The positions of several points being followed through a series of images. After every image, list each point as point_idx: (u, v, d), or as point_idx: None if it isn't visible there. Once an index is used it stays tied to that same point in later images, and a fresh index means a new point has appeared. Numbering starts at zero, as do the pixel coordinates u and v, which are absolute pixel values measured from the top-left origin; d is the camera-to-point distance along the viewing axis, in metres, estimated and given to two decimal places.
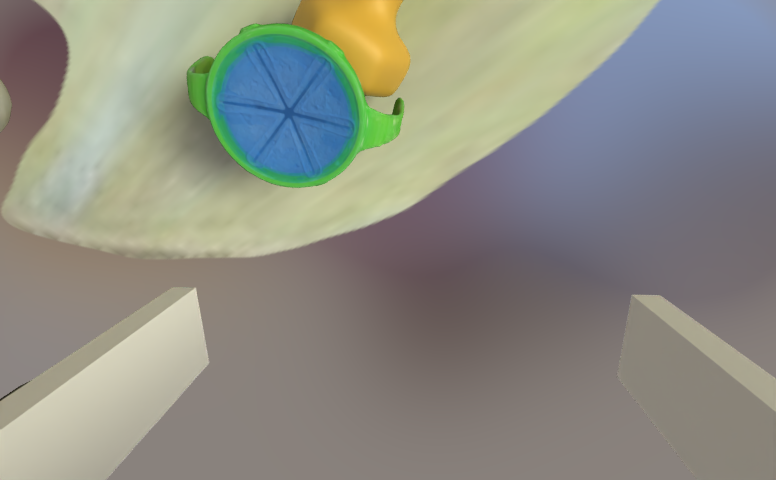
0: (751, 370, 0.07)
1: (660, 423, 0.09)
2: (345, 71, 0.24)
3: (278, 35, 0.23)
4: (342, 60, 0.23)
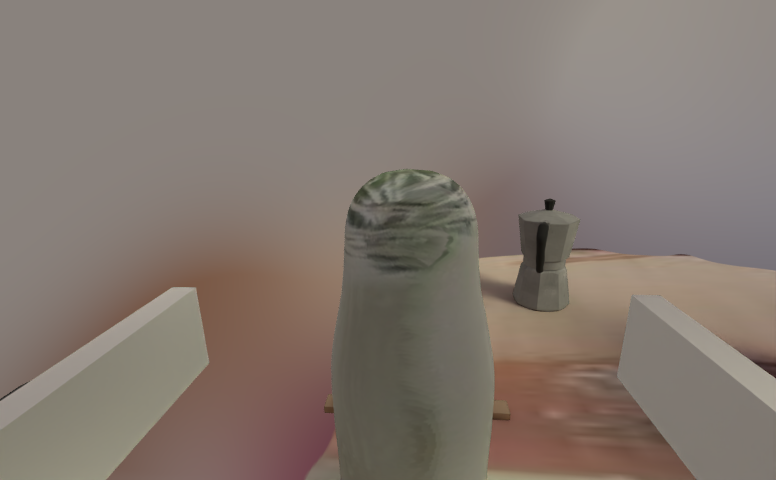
0: (751, 369, 0.07)
1: (660, 423, 0.09)
2: None
3: None
4: None
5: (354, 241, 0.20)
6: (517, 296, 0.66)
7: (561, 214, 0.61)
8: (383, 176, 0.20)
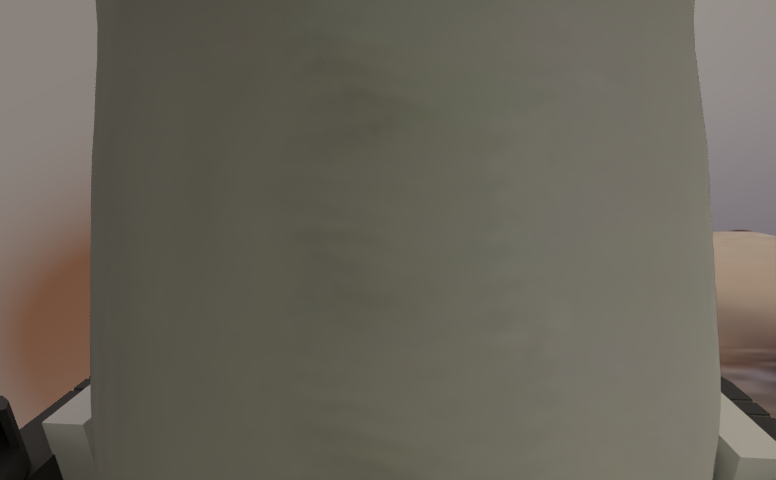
0: None
1: None
2: None
3: None
4: None
5: None
6: None
7: None
8: None
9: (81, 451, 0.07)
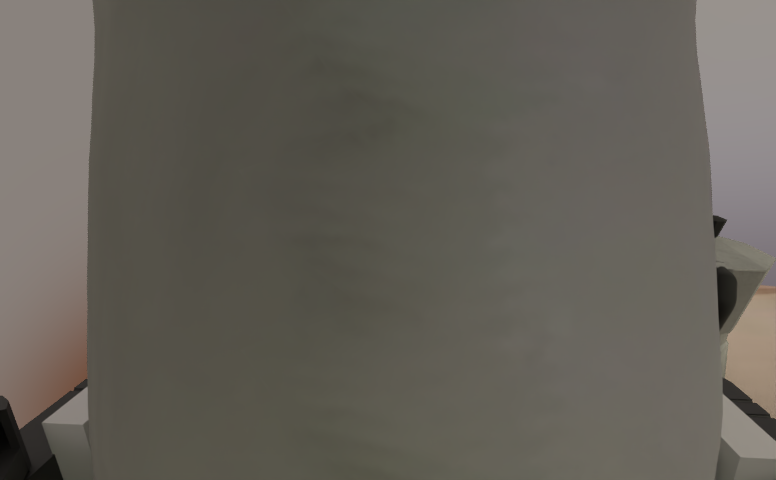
0: None
1: None
2: None
3: None
4: None
5: None
6: None
7: (737, 246, 0.33)
8: None
9: (81, 451, 0.07)
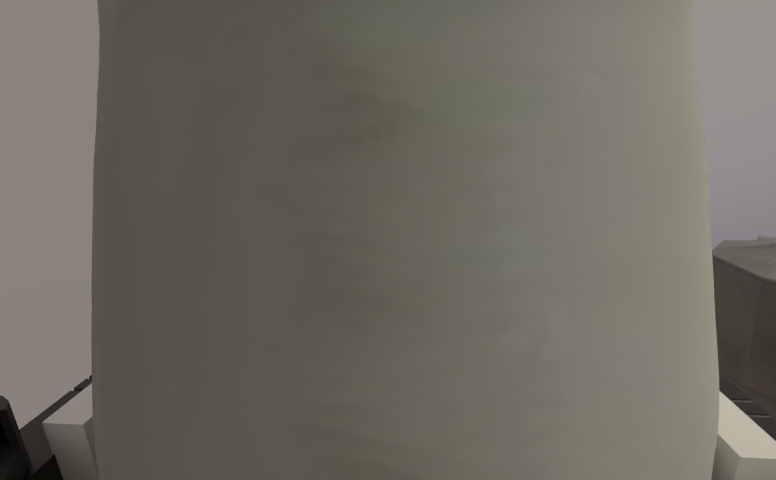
0: None
1: None
2: None
3: None
4: None
5: None
6: None
7: None
8: None
9: (81, 451, 0.07)
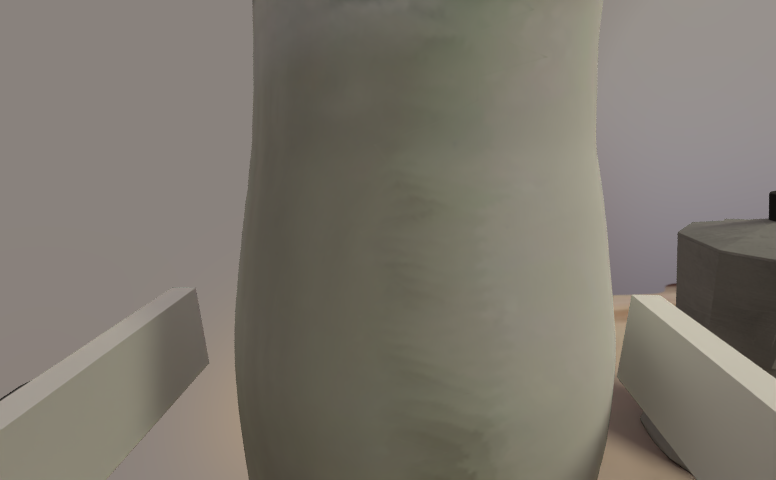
0: (751, 370, 0.07)
1: (660, 423, 0.09)
2: None
3: None
4: None
5: None
6: None
7: None
8: None
9: None
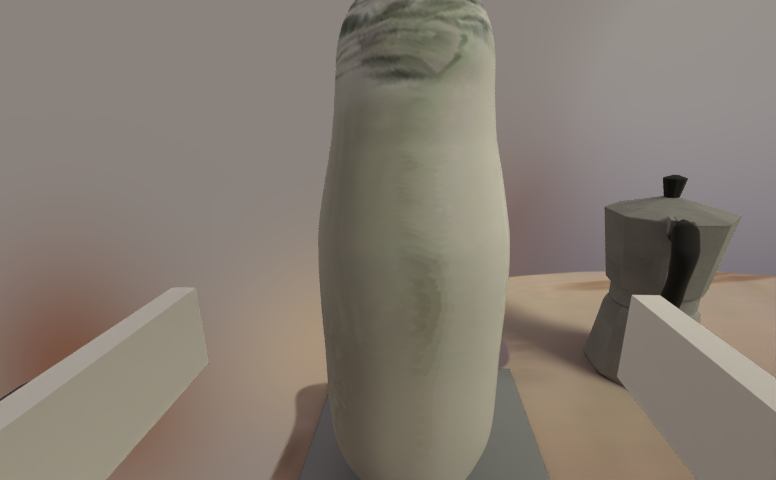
0: (751, 369, 0.07)
1: (660, 423, 0.09)
2: None
3: None
4: None
5: (347, 50, 0.16)
6: (598, 360, 0.35)
7: (700, 205, 0.31)
8: None
9: None
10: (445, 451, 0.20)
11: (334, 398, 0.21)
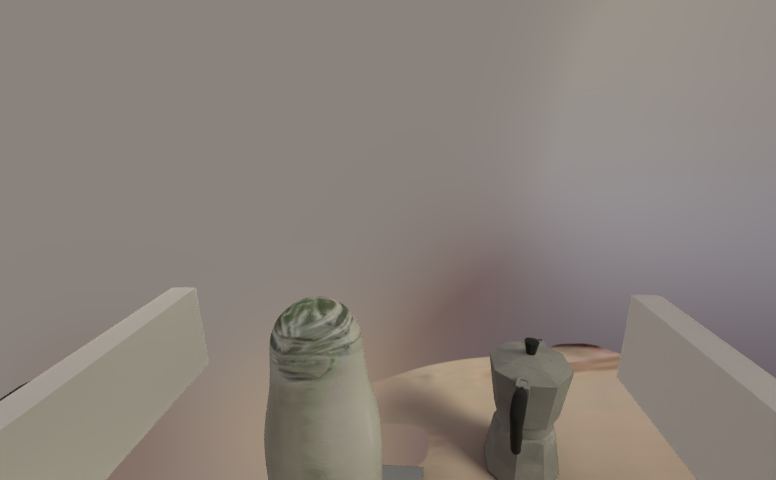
0: (751, 370, 0.07)
1: (660, 423, 0.09)
2: None
3: None
4: None
5: (272, 357, 0.29)
6: (488, 460, 0.48)
7: (547, 362, 0.44)
8: (294, 310, 0.30)
9: None
10: None
11: None
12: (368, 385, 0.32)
